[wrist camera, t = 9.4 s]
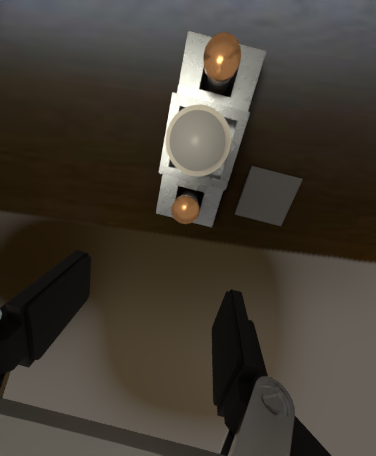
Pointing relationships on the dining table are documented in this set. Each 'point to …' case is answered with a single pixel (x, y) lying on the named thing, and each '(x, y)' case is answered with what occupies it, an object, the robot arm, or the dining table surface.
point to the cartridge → (198, 140)
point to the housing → (228, 106)
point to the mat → (267, 195)
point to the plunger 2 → (221, 61)
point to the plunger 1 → (186, 207)
